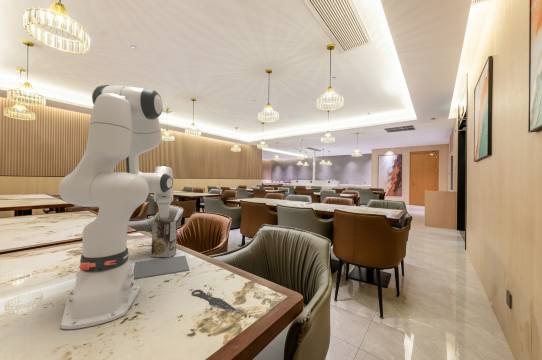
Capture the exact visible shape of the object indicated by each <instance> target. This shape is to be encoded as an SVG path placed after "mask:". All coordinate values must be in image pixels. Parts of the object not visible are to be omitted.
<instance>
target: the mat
mask: <svg viewBox="0 0 542 360" xmlns="http://www.w3.org/2000/svg"><path fill="white" fill-rule="evenodd" d="M133 269H134V280H138V279H144V278H151V277H157V276H163V275H170V274H177V273H183V272H188V271H190V267H189V263H188V261H187V257H186V255H180V256H171V257H161V258H156V259H148V260H141V261H135V263H134V265H133Z"/></svg>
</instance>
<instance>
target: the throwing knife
mask: <svg viewBox="0 0 542 360" xmlns="http://www.w3.org/2000/svg"><path fill="white" fill-rule="evenodd" d="M191 296H193V297H196V298H197V297H198V298H201V299H202V300H203V299H204V300H205V301H207V302H208V303H209V304H208V305H210V306H212V307H215V308H218V309H221V310H226V311H229V312H234V313H240V312H239V310H237V309H236V308H235V307H234V306H232V305H231V304H230V303H228V301H225V300H223V299H222V298H221V297H214V296H211V295H209V294H207V293H206V292H204V291H203V290H202V289H194V290H193V291H192V292H191Z"/></svg>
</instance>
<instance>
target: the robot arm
mask: <svg viewBox="0 0 542 360" xmlns="http://www.w3.org/2000/svg"><path fill="white" fill-rule="evenodd" d="M91 98H92V99H91V100H92V104H93V106H92V108H91V109H92V110H91V115H90V119H89V125H88V133H87V134H88V136H87V141H86V146H85V151H84V153H83V156H82V158H81V159H80V161H79V163H78V164H77V165H76V167H75V168H74V169H73V171H71V172H70V173H69V174H67V175H65V176H64V177H63V178H62V179H61V181H60V183H59V185H58V194H59V196H60V198H61V199H62V200H63V201H64V202H66V203H68V204H70V205H75V206H79V207H84V208H85V207H86V208H98V213H97V216H96V218H95V219H94V220H93V221H91V222H90V223H88V224H86V225H85V227H84V228H83V230H82V254H81V255H80V260H79V270H78V271H77V272H76V273H75V285H74V290H71V293H70V295H71V296H70V297H68V298H67V299H66V301H65V305H64V310H63V314H62V318H61V321H60V326H59V327H60V329H62V330H76V329H77V330H78V329H83V328H89V327H92V326H97V325H100V324H104V323H107V322H108V323H109V322H111V321H114V320H116V319H118V318H122V317H123V316H125V315H127V313H128V311H129V310H130V308H131V306H132V304H133V302H134V301H135V299H136V297H137V296H138V295H139V293H140V291H141V286H140V285H138V284H137V285H136V284H135V279H134V264H132V263H131V262H129V261H128V260H129V248H127V244H128V243H127V238H128V226H129V223H130V219H131V217H132V215H133V213H134V212H135V211H136V210H137V208H139V207H140V206H141V205H143V203H145V201H146V200H147V199H148V196H149V194H154V197H153V200H154V202H156V205H157V206H158V207H157V208H158V213H159V214H158V215H159V220H169V216H170V209H171V208H170V207H171V204H172V202H173V201H174V189H173V186H174V174H173V168H172V167H170V166H167V165H157V166H155V170H154V172H142V171H140V160H139V157H140V155H142V154H145V153H147V152H150V151H153V150H155V149H156V148H157V147H159V146H160V145H161V143H162V138H163V136H162V129H161V124H160V121H159V120H160V119H159V117H160V116H161V115H162V112H163V108H164V107H163V100H162V97H161V95H160V94H159V93H158V92H157V91H156V90H155V89H152V88H148V87H145V88H142V87H138V86H129V85H120V84H119V85H117V84H116V85H109V84H103V85H98V86H96V87H95V89H94V90H93V92H92V95H91ZM124 160H125V162H126V163H125V164H126V165H125V166H126V172H125V171H121V172H119V171H115V169H116V167H117V166H118V165H119V164H120V162H122V161H124Z"/></svg>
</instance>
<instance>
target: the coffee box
mask: <svg viewBox="0 0 542 360" xmlns="http://www.w3.org/2000/svg"><path fill="white" fill-rule="evenodd" d="M151 224H152V225H151V226H152V227H151V228H152V231H151V251H150V252H151V253H150V254H151V256H150V257H152V258H153V257H154V258H170V257H174V256H175V255H177V236H178V235H177V233H178V220H171V219H166V220H162V219H159V220H155V221H152V223H151Z"/></svg>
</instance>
